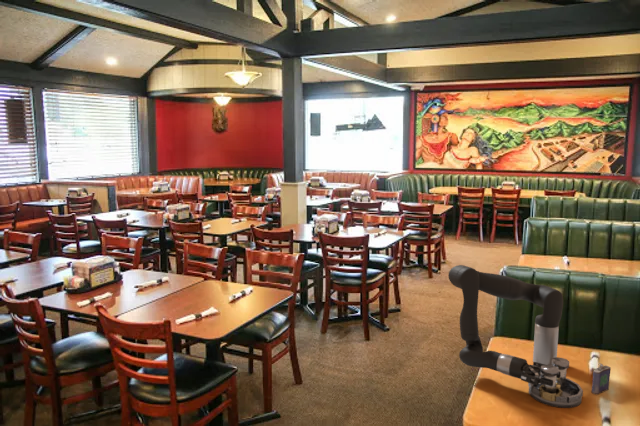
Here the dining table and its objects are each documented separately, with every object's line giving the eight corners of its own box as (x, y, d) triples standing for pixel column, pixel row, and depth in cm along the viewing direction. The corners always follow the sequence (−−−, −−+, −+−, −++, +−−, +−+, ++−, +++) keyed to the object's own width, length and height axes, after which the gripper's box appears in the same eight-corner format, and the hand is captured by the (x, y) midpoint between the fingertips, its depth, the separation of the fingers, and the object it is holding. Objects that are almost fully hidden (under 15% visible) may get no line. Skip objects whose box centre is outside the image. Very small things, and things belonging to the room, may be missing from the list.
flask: (596, 395, 190) (598, 368, 188) (588, 392, 192) (590, 365, 191) (610, 389, 195) (612, 362, 193) (602, 386, 197) (604, 360, 196)
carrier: (537, 379, 203) (539, 351, 201) (587, 394, 191) (589, 363, 189) (521, 396, 189) (523, 366, 187) (573, 413, 177) (575, 381, 176)
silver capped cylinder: (544, 389, 190) (543, 363, 190) (561, 393, 186) (560, 367, 186) (538, 395, 186) (538, 368, 185) (555, 399, 182) (555, 371, 181)
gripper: (505, 362, 188) (551, 376, 177) (519, 350, 199) (563, 362, 188) (504, 381, 189) (549, 396, 178) (518, 368, 200) (561, 381, 189)
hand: (556, 379), depth 183 cm, fingers open, 8 cm apart
